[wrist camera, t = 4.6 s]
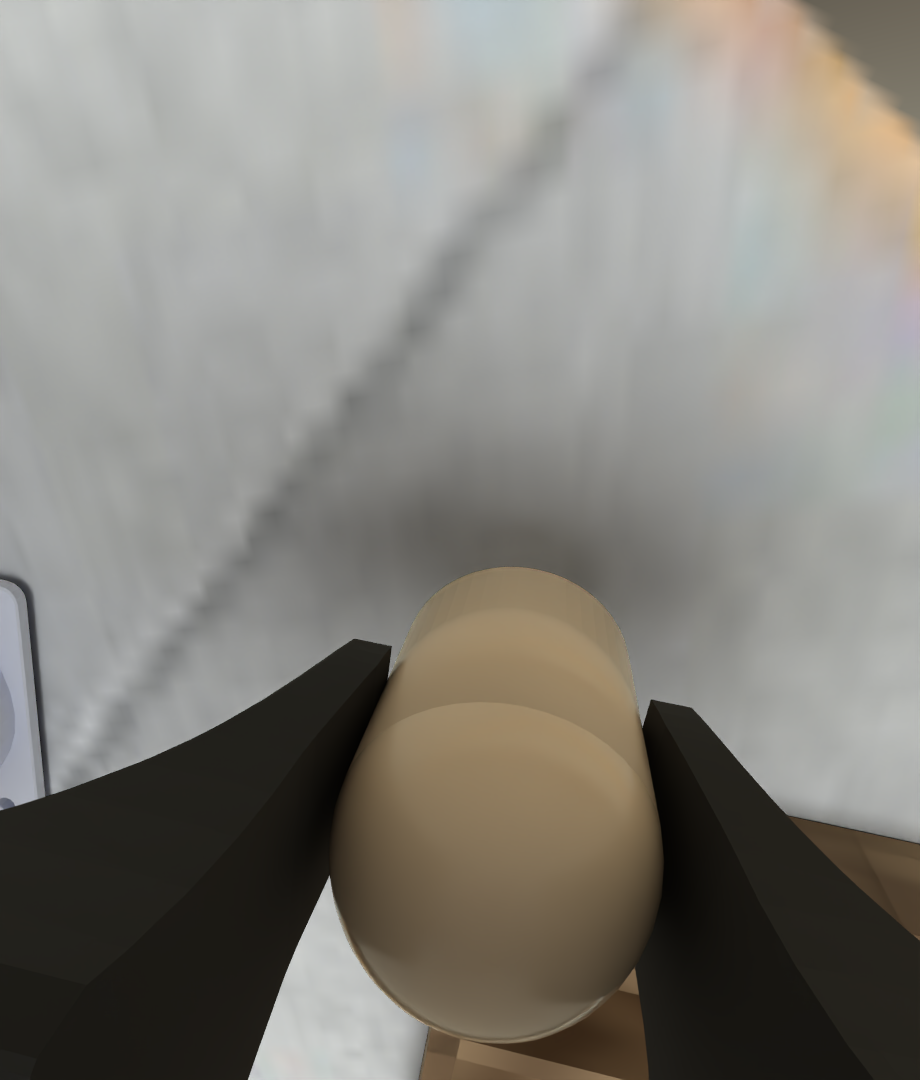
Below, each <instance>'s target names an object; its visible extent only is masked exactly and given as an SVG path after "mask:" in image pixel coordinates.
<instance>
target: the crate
mask: <svg viewBox="0 0 920 1080" xmlns="http://www.w3.org/2000/svg"><path fill="white" fill-rule="evenodd" d="M788 817H789V818H790V819H791V820H792V821H793V822H794V824H795V825H796V826H797V827H798V828H799V829H800V830H801V831H802V832H803V833H804V834H805V835H806V836H807V837H808V838H809V839H810V840H811V841H812V842H813V843H814V844H815V845H816V846H817V847H818V848H819V849H820V850H821V851H822V852H823V853H824V854H825V855H826V856H827V857H828V858H829V859H830V860H831V861H832V862H833V863H834V864H835V865H836V866H837V867H838V868H839V869H840V870H841V871H842V872H843V873H844V874H845V875H846V876H847V877H849V878H850V879H851V880H852V881H853V882H854V883H855V884H856V885H857V886H858V887H859V888H860V889H861V890H862V891H864V892H865V893H866V894H867V895H868V896H869V897H870V898H872V899H873V900H874V901H875V902H876V903H877V904H878V905H879V906H881V907H882V908H883V909H884V910H885V911H886V912H887V913H888V914H890V915H891V916H892V917H893V918H894V919H895V920H896V921H897V922H899V923H900V924H901V925H902V926H903V927H904V928H905V929H906V930H908V931H909V932H910V933H911V934H912V935H914V936H915V937H916V938H917V939H918V940H920V845H919V844H915V843H910V842H906V841H901V840H896V839H892V838H887V837H882V836H878V835H873V834H869V833H864V832H859V831H855V830H850V829H845V828H841V827H836V826H832V825H827V824H822V823H818V822H813V821H808V820H804V819H799V818H795V817H790V816H788ZM419 1080H649V1074H648V1061H647V1052H646V1042H645V1033H644V1025H643V1018H642V1011H641V1005H640V998H639V991H638V985H637V978H636V971H635V967H634V969H633V970H632V972H631V973H630V975H629V976H628V977H627V979H626V980H625V981H624V983H623V984H622V985H621V987H620V988H619V989H618V990H617V991H616V992H615V993H614V994H613V995H612V996H611V997H610V999H609V1000H607V1001H606V1002H605V1003H604V1004H603V1005H601V1006H600V1007H599V1008H598V1009H597V1010H595V1011H594V1012H593V1013H592V1014H590V1015H589V1016H588V1017H586V1018H585V1019H583V1020H582V1021H580V1022H578V1023H576V1024H575V1025H573V1026H571V1027H569V1028H566V1029H564V1030H562V1031H560V1032H558V1033H555V1034H553V1035H550V1036H548V1037H544V1038H541V1039H537V1040H533V1041H527V1042H522V1043H509V1044H493V1043H480V1042H474V1041H469V1040H464V1039H460V1038H457V1037H453V1036H450V1035H448V1034H445V1033H443V1032H440V1031H438V1030H435V1029H433V1028H431V1027H429V1030H428V1035H427V1040H426V1045H425V1050H424V1055H423V1060H422V1065H421V1070H420V1075H419Z"/></svg>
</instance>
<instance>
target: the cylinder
mask: <svg viewBox="0 0 920 1080" xmlns="http://www.w3.org/2000/svg"><path fill="white" fill-rule="evenodd" d="M663 872H664V854H663V844H662V833H661V825H660V820H659V814H658V809H657V804H656V798H655V793H654V788H653V782H652V777H651V772H650V766H649V761H648V756H647V751H646V745H645V740H644V735H643V729H642V724H641V719H640V713H639V708H638V703H637V697H636V692H635V687H634V681H633V676H632V671H631V665H630V660H629V655H628V651H627V647H626V643H625V640H624V638H623V636H622V633H621V631H620V629H619V627H618V625H617V624H616V622H615V620H614V619H613V617H612V616H611V615H610V613H609V612H608V611H607V610H606V608H605V607H604V606H603V605H602V604H601V603H600V602H599V601H598V600H597V599H596V598H595V597H593V596H592V595H591V594H590V593H588V592H587V591H586V590H584V589H583V588H581V587H580V586H578V585H577V584H575V583H573V582H571V581H569V580H567V579H565V578H563V577H560V576H558V575H555V574H552V573H549V572H545V571H542V570H538V569H532V568H524V567H498V568H490V569H485V570H481V571H477V572H473V573H471V574H468V575H465V576H463V577H460V578H459V579H457V580H455V581H453V582H451V583H449V584H448V585H446V586H445V587H443V588H442V589H441V590H439V591H438V592H437V593H436V594H434V595H433V596H432V597H431V598H430V599H429V600H428V601H427V602H426V604H425V605H424V606H423V607H422V609H421V610H420V611H419V613H418V614H417V616H416V618H415V620H414V622H413V623H412V626H411V628H410V630H409V632H408V635H407V637H406V639H405V642H404V644H403V646H402V648H401V651H400V653H399V655H398V657H397V660H396V662H395V664H394V667H393V669H392V671H391V673H390V676H389V678H388V680H387V683H386V685H385V687H384V689H383V692H382V694H381V696H380V699H379V701H378V703H377V705H376V708H375V710H374V712H373V715H372V717H371V719H370V721H369V724H368V726H367V728H366V731H365V733H364V735H363V737H362V740H361V742H360V744H359V746H358V749H357V751H356V753H355V756H354V758H353V760H352V762H351V765H350V767H349V769H348V772H347V774H346V776H345V779H344V782H343V784H342V787H341V790H340V793H339V796H338V799H337V802H336V805H335V809H334V815H333V820H332V826H331V832H330V841H329V873H330V879H331V886H332V892H333V897H334V903H335V907H336V910H337V914H338V917H339V920H340V923H341V925H342V928H343V931H344V933H345V936H346V938H347V940H348V942H349V945H350V947H351V949H352V951H353V952H354V954H355V955H356V957H357V959H358V960H359V962H360V963H361V965H362V967H363V968H364V970H365V971H366V973H367V974H368V976H369V977H370V978H371V979H372V981H373V982H374V983H375V984H376V985H377V987H378V988H379V989H380V990H381V991H382V992H383V993H384V994H385V995H386V996H387V997H388V998H390V999H391V1000H392V1001H393V1002H394V1003H395V1004H396V1005H397V1006H398V1007H399V1008H401V1009H402V1010H403V1011H404V1012H406V1013H407V1014H408V1015H410V1016H411V1017H413V1018H415V1019H416V1020H418V1021H419V1022H421V1023H423V1024H425V1025H427V1026H429V1027H431V1028H433V1029H435V1030H438V1031H440V1032H443V1033H445V1034H448V1035H450V1036H453V1037H457V1038H460V1039H464V1040H469V1041H474V1042H480V1043H493V1044H509V1043H522V1042H527V1041H533V1040H537V1039H541V1038H544V1037H548V1036H550V1035H553V1034H555V1033H558V1032H560V1031H562V1030H564V1029H566V1028H569V1027H571V1026H573V1025H575V1024H576V1023H578V1022H580V1021H582V1020H583V1019H585V1018H586V1017H588V1016H589V1015H590V1014H592V1013H593V1012H594V1011H595V1010H597V1009H598V1008H599V1007H600V1006H601V1005H603V1004H604V1003H605V1002H606V1001H607V1000H609V999H610V997H611V996H612V995H613V994H614V993H615V992H616V991H617V990H618V989H619V988H620V987H621V985H622V984H623V983H624V981H625V980H626V979H627V977H628V976H629V975H630V973H631V972H632V970H633V969H634V967H635V966H636V964H637V963H638V961H639V959H640V957H641V955H642V953H643V951H644V949H645V947H646V944H647V942H648V940H649V938H650V936H651V934H652V931H653V928H654V924H655V920H656V916H657V913H658V909H659V905H660V901H661V897H662V885H663Z"/></svg>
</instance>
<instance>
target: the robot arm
mask: <svg viewBox="0 0 920 1080" xmlns="http://www.w3.org/2000/svg"><path fill="white" fill-rule="evenodd" d="M391 649H392V646H387V645H382V644H377V643H373V642H368V641H363V640H358V639H353V640H352V641H350V642H348V643H347V644H345V645H344V646H342V647H341V648H339V649H338V650H336V651H335V652H333V653H332V654H331V655H329V656H328V657H326V658H325V659H323V660H322V661H321V662H319V663H318V664H316V665H315V666H313V667H312V668H311V669H309V670H308V671H306V672H305V673H303V674H302V675H300V676H299V677H297V678H296V679H294V680H293V681H291V682H290V683H288V684H287V685H285V686H284V687H282V688H280V689H279V690H277V691H276V692H274V693H273V694H271V695H270V696H268V697H267V698H265V699H263V700H262V701H260V702H258V703H257V704H255V705H253V706H251V707H250V708H248V709H246V710H245V711H243V712H241V713H239V714H238V715H236V716H234V717H232V718H231V719H229V720H227V721H226V722H224V723H222V724H220V725H218V726H216V727H214V728H213V729H211V730H209V731H207V732H205V733H203V734H201V735H199V736H197V737H195V738H193V739H191V740H189V741H186V742H184V743H182V744H180V745H178V746H175V747H173V748H171V749H169V750H167V751H165V752H162V753H160V754H158V755H156V756H153V757H151V758H149V759H146V760H144V761H142V762H139V763H137V764H134V765H131V766H129V767H126V768H123V769H121V770H118V771H115V772H113V773H110V774H107V775H105V776H102V777H100V778H97V779H94V780H92V781H89V782H86V783H84V784H81V785H78V786H76V787H73V788H70V789H67V790H64V791H62V792H59V793H56V794H52V795H49V796H46V797H45V788H44V778H43V768H42V758H41V747H40V737H39V727H38V716H37V706H36V696H35V685H34V675H33V665H32V654H31V644H30V634H29V624H28V613H27V603H26V598H25V595H24V593H23V592H22V590H21V589H20V588H19V587H18V586H17V585H15V584H14V583H11V582H9V581H6V580H1V579H0V1080H248V1078H249V1075H250V1072H251V1069H252V1066H253V1063H254V1060H255V1057H256V1054H257V1052H258V1049H259V1046H260V1043H261V1040H262V1038H263V1035H264V1032H265V1029H266V1026H267V1024H268V1021H269V1018H270V1015H271V1012H272V1010H273V1007H274V1004H275V1001H276V998H277V996H278V993H279V990H280V987H281V984H282V982H283V979H284V976H285V974H286V971H287V969H288V966H289V964H290V962H291V959H292V957H293V954H294V952H295V949H296V947H297V945H298V942H299V940H300V938H301V936H302V934H303V932H304V929H305V927H306V925H307V923H308V921H309V919H310V916H311V914H312V912H313V910H314V908H315V906H316V903H317V901H318V899H319V897H320V895H321V893H322V890H323V888H324V886H325V884H326V882H327V880H328V878H329V875H330V873H329V841H330V832H331V826H332V820H333V815H334V809H335V805H336V802H337V799H338V796H339V793H340V790H341V787H342V784H343V782H344V779H345V776H346V774H347V772H348V769H349V767H350V765H351V762H352V760H353V758H354V756H355V753H356V751H357V749H358V746H359V744H360V742H361V740H362V737H363V735H364V733H365V731H366V728H367V726H368V724H369V721H370V719H371V717H372V715H373V712H374V710H375V708H376V705H377V703H378V701H379V699H380V696H381V694H382V692H383V689H384V687H385V685H386V683H387V680H388V672H389V664H390V656H391ZM642 729H643V735H644V740H645V745H646V751H647V756H648V761H649V766H650V772H651V777H652V782H653V788H654V793H655V798H656V804H657V809H658V814H659V820H660V825H661V833H662V844H663V854H664V872H663V885H662V897H661V901H660V905H659V909H658V913H657V916H656V920H655V924H654V928H653V931H652V934H651V936H650V938H649V940H648V942H647V944H646V947H645V949H644V951H643V953H642V955H641V957H640V959H639V961H638V963H637V964H636V966H635V971H636V978H637V985H638V991H639V998H640V1005H641V1011H642V1018H643V1025H644V1033H645V1042H646V1052H647V1061H648V1074H649V1080H920V940H918V939H917V938H916V937H915V936H914V935H912V934H911V933H910V932H909V931H908V930H906V929H905V928H904V927H903V926H902V925H901V924H900V923H899V922H897V921H896V920H895V919H894V918H893V917H892V916H891V915H890V914H888V913H887V912H886V911H885V910H884V909H883V908H882V907H881V906H879V905H878V904H877V903H876V902H875V901H874V900H873V899H872V898H870V897H869V896H868V895H867V894H866V893H865V892H864V891H862V890H861V889H860V888H859V887H858V886H857V885H856V884H855V883H854V882H853V881H852V880H851V879H850V878H849V877H847V876H846V875H845V874H844V873H843V872H842V871H841V870H840V869H839V868H838V867H837V866H836V865H835V864H834V863H833V862H832V861H831V860H830V859H829V858H828V857H827V856H826V855H825V854H824V853H823V852H822V851H821V850H820V849H819V848H818V847H817V846H816V845H815V844H814V843H813V842H812V841H811V840H810V839H809V838H808V837H807V836H806V835H805V834H804V833H803V832H802V831H801V830H800V829H799V828H798V827H797V826H796V825H795V824H794V822H793V821H792V820H791V819H790V818H789V817H788V816H787V815H786V814H785V813H784V812H783V811H782V810H781V809H780V808H779V806H778V805H777V804H776V803H775V802H774V801H773V800H772V799H771V798H770V797H769V795H768V794H767V793H766V792H765V791H764V790H763V789H762V788H761V786H760V785H759V784H758V783H757V782H756V781H755V780H754V779H753V777H752V776H751V775H750V774H749V773H748V772H747V771H746V769H745V768H744V767H743V766H742V765H741V764H740V762H739V761H738V760H737V759H736V758H735V757H734V755H733V754H732V753H731V752H730V751H729V750H728V748H727V747H726V746H725V745H724V744H723V743H722V741H721V740H720V739H719V738H718V737H717V736H716V734H715V733H714V732H713V731H712V730H711V729H710V727H709V726H708V725H707V724H706V723H705V722H704V721H703V719H702V718H701V717H700V716H699V715H698V714H697V713H696V712H695V711H694V710H693V709H692V708H690V707H685V706H680V705H675V704H670V703H665V702H660V701H656V700H651V701H650V705H649V708H648V711H647V715H646V718H645V721H644V725H643V728H642Z"/></svg>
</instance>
